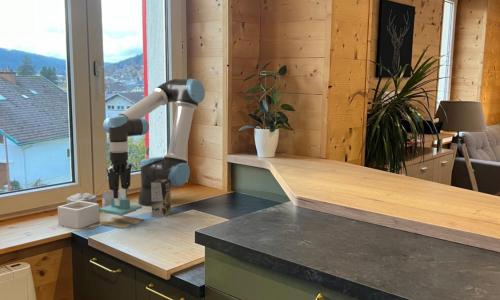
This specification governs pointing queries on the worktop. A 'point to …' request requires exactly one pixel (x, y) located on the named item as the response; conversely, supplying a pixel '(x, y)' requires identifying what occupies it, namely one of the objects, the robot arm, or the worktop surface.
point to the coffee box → (161, 197)
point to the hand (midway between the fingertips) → (120, 204)
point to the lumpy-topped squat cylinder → (82, 198)
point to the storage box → (78, 214)
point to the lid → (120, 207)
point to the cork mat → (121, 221)
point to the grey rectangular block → (107, 198)
